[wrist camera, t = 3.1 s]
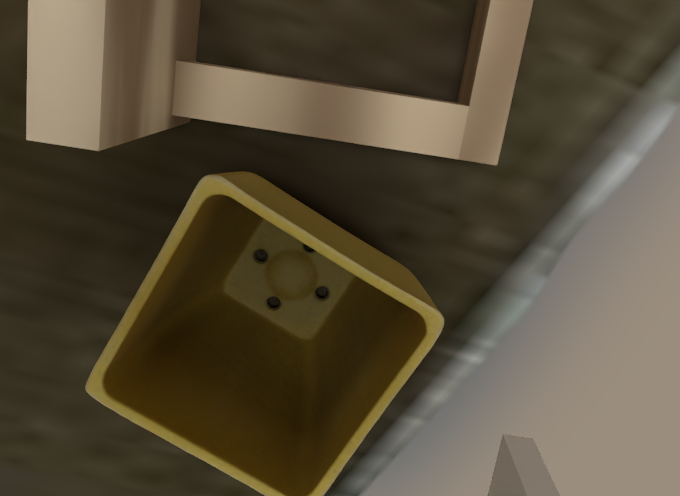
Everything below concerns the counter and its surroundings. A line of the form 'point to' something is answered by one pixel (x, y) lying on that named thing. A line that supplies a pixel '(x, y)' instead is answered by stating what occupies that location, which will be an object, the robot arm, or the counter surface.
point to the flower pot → (265, 338)
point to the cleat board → (246, 84)
